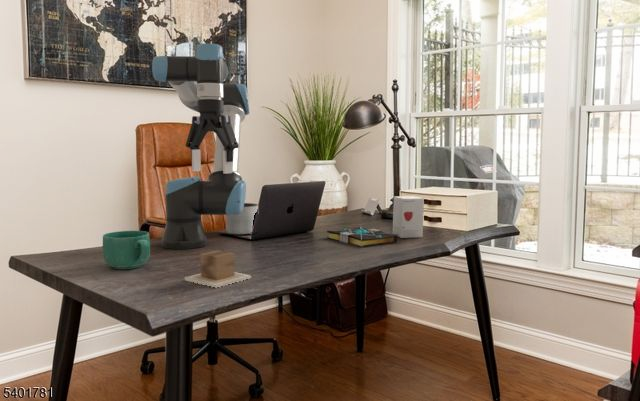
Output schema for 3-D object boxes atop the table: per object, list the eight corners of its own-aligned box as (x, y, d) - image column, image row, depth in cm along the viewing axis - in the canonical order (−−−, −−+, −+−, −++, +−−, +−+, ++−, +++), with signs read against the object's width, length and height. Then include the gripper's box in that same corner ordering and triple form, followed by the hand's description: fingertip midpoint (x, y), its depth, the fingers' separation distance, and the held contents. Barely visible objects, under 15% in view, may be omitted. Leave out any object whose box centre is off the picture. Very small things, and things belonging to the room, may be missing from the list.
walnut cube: (201, 276, 138) (200, 253, 137) (218, 272, 143) (218, 250, 142) (216, 280, 134) (216, 257, 134) (234, 275, 139) (234, 253, 138)
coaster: (184, 280, 138) (184, 277, 138) (220, 271, 147) (219, 268, 147) (216, 288, 130) (216, 284, 130) (251, 278, 140) (251, 275, 140)
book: (398, 243, 191) (399, 230, 191) (361, 249, 182) (362, 234, 181) (360, 235, 209) (361, 222, 208) (325, 239, 199) (325, 226, 199)
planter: (222, 231, 212) (221, 203, 211) (252, 229, 218) (252, 202, 217) (231, 236, 201) (231, 207, 200) (263, 234, 207) (263, 205, 206)
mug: (96, 266, 153) (95, 233, 152) (138, 259, 161) (137, 228, 160) (121, 277, 141) (120, 241, 140) (165, 269, 150) (164, 235, 149)
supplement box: (400, 238, 200) (401, 198, 198) (392, 234, 208) (392, 196, 207) (423, 237, 202) (424, 198, 200) (413, 233, 210) (414, 195, 209)
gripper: (172, 99, 160) (174, 171, 162) (230, 96, 145) (231, 174, 147) (192, 101, 166) (194, 169, 168) (250, 98, 151) (251, 173, 153)
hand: (211, 172), depth 158 cm, fingers open, 13 cm apart
